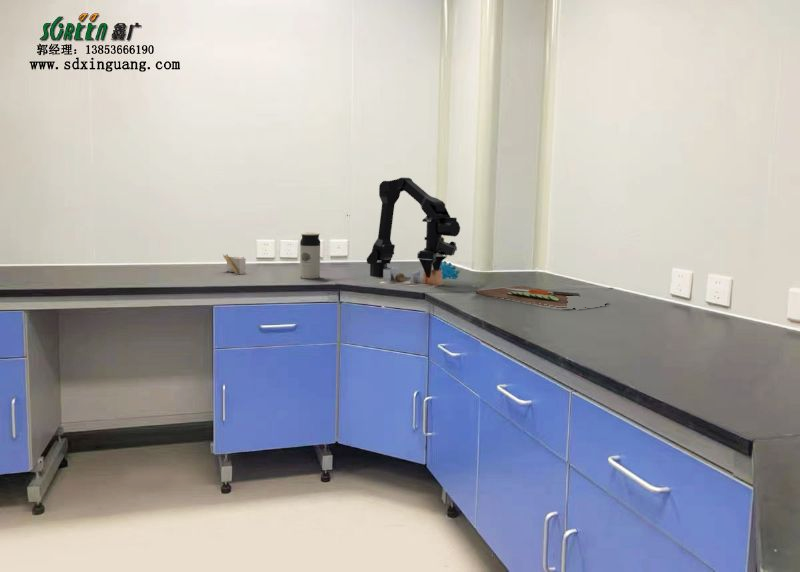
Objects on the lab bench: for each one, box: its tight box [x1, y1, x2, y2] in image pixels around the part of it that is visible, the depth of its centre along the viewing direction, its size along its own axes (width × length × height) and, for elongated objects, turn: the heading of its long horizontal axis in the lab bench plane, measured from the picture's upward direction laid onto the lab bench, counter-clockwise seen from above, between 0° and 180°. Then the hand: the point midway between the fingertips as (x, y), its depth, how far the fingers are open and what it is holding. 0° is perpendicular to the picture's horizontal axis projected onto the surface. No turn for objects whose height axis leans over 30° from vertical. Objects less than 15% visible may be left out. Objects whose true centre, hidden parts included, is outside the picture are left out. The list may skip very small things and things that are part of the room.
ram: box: [410, 268, 443, 287], centre depth 255 cm, size 10×7×5 cm
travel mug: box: [299, 232, 321, 280], centre depth 272 cm, size 8×8×18 cm
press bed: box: [379, 278, 444, 289], centre depth 257 cm, size 22×12×2 cm, turn 68°
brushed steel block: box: [382, 266, 400, 284], centre depth 260 cm, size 3×8×5 cm, turn 158°
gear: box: [440, 260, 461, 280], centre depth 278 cm, size 11×6×10 cm
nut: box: [395, 272, 406, 282], centre depth 259 cm, size 4×4×4 cm
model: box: [222, 254, 247, 275], centre depth 282 cm, size 3×11×8 cm, turn 57°
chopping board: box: [475, 285, 581, 308], centre depth 238 cm, size 45×27×3 cm, turn 38°
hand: (432, 276), depth 254 cm, fingers open, 9 cm apart
